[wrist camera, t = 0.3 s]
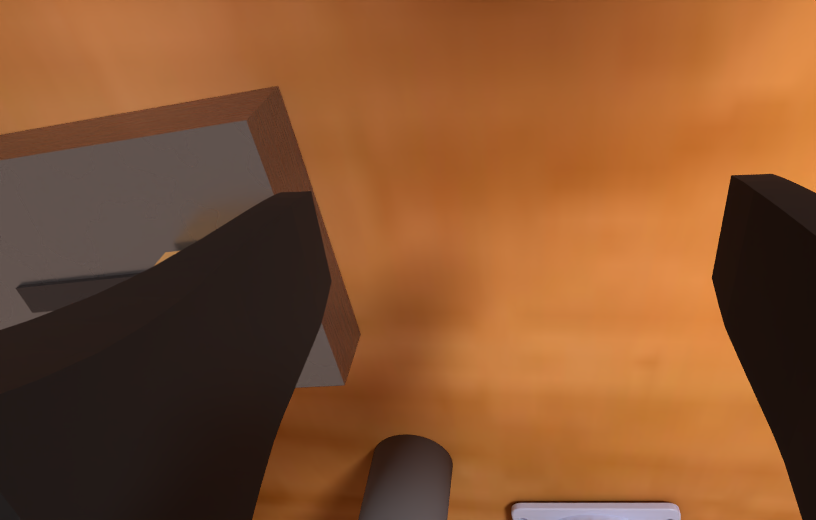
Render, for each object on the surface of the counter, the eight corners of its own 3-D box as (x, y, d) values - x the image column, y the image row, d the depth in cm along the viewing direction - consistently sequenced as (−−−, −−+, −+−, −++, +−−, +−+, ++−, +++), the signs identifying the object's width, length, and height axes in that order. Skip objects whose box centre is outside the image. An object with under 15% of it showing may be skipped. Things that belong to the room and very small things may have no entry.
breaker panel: (360, 334, 27) (343, 388, 24) (86, 353, 30) (44, 403, 27) (278, 86, 21) (243, 122, 18) (-52, 144, 24) (-121, 181, 21)
